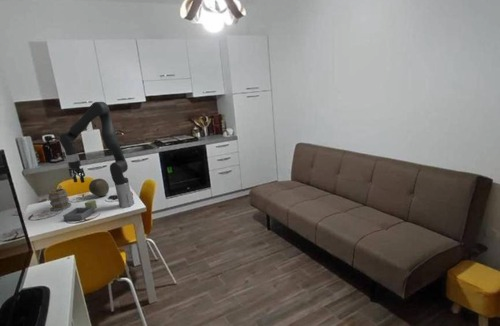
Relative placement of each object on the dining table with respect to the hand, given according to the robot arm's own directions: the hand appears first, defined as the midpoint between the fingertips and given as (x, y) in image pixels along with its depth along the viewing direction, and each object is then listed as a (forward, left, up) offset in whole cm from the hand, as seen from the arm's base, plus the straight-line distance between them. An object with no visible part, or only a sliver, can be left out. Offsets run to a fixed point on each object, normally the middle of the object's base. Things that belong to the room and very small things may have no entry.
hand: (79, 182), depth 216 cm
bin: (-5, +14, -21) cm, 25 cm away
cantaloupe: (+6, -27, -21) cm, 35 cm away
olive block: (-5, +1, -21) cm, 21 cm away
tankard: (+26, -8, -21) cm, 34 cm away
